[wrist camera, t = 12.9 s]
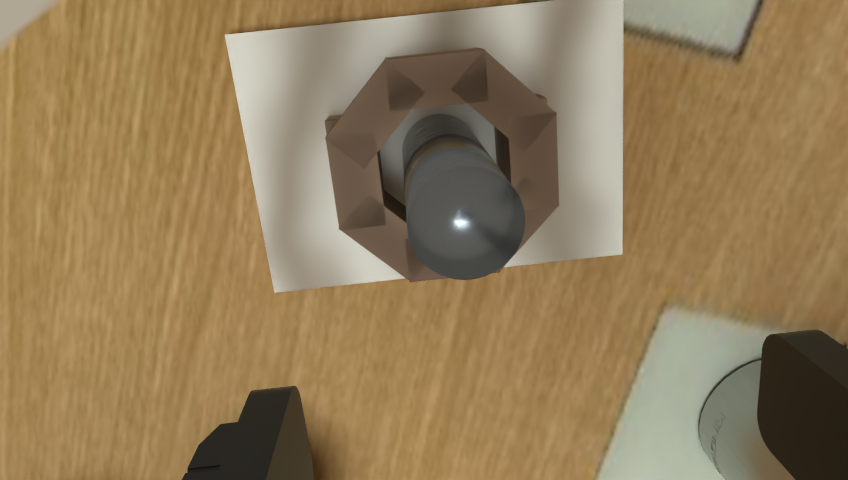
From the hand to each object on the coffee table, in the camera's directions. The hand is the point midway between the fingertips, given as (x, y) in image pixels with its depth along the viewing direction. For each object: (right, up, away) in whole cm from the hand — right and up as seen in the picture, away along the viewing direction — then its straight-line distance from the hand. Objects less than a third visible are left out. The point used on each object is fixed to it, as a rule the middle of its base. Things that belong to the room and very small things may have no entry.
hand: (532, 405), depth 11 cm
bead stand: (-1, +8, +23) cm, 25 cm away
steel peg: (-1, +8, +22) cm, 24 cm away
